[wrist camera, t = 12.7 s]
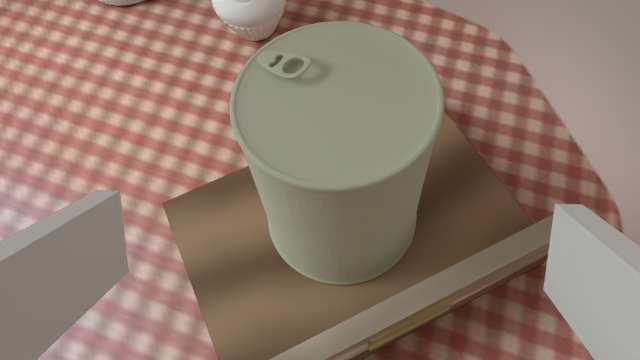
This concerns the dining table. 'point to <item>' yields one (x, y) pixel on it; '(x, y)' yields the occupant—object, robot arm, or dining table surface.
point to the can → (338, 144)
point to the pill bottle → (121, 2)
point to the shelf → (363, 298)
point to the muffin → (250, 16)
